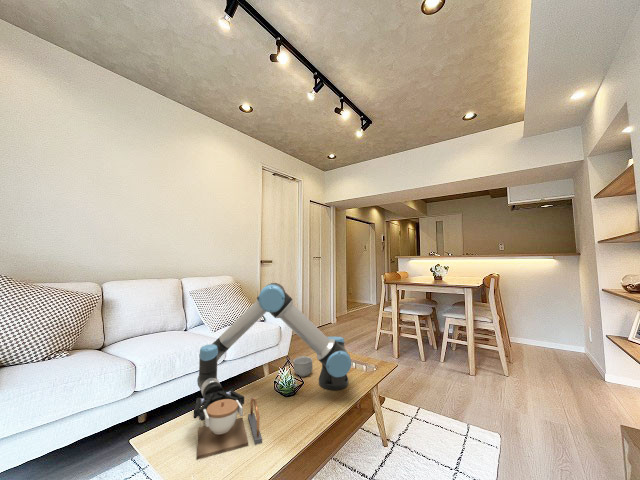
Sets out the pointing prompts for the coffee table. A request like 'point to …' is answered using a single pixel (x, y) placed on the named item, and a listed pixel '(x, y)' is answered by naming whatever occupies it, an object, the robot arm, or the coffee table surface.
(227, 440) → the pad
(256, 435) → the buzz wire
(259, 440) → the wire stand
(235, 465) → the coffee table surface
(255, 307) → the robot arm
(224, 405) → the lidded jar
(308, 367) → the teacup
